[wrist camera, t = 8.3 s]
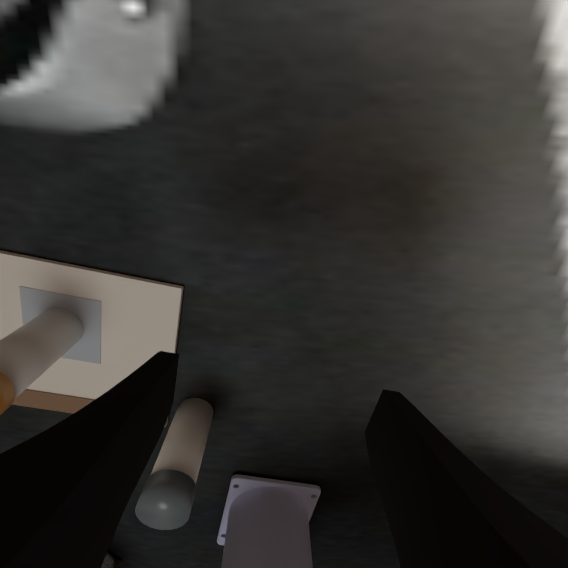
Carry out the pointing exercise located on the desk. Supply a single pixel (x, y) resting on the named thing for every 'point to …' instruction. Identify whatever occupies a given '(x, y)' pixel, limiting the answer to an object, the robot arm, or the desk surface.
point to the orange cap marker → (35, 350)
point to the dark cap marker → (176, 468)
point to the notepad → (88, 325)
